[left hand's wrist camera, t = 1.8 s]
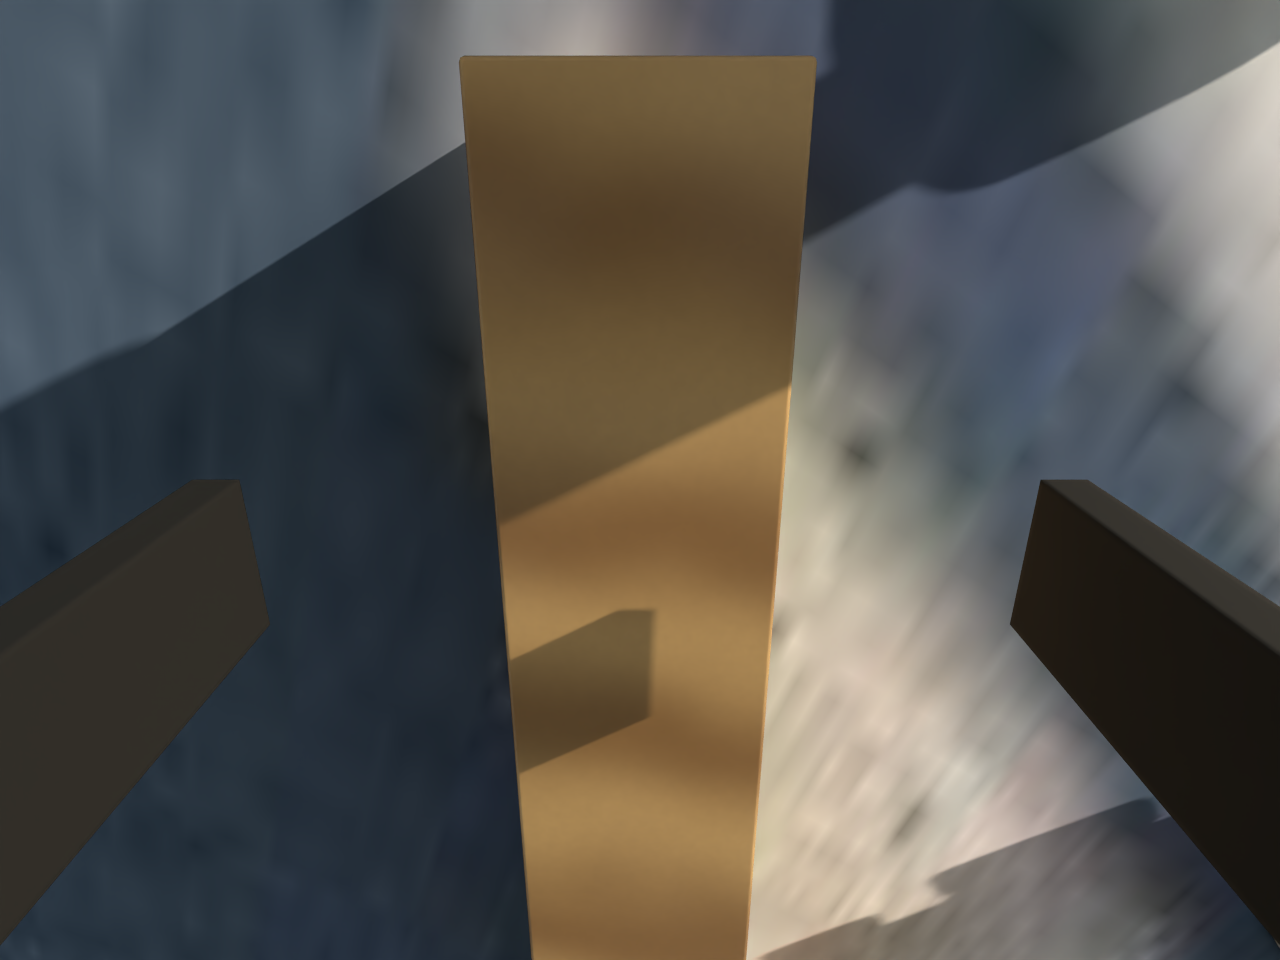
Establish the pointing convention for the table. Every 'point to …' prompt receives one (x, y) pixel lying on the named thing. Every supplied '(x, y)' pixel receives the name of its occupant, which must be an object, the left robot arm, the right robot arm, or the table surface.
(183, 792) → the table surface
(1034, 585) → the left robot arm
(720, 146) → the post
